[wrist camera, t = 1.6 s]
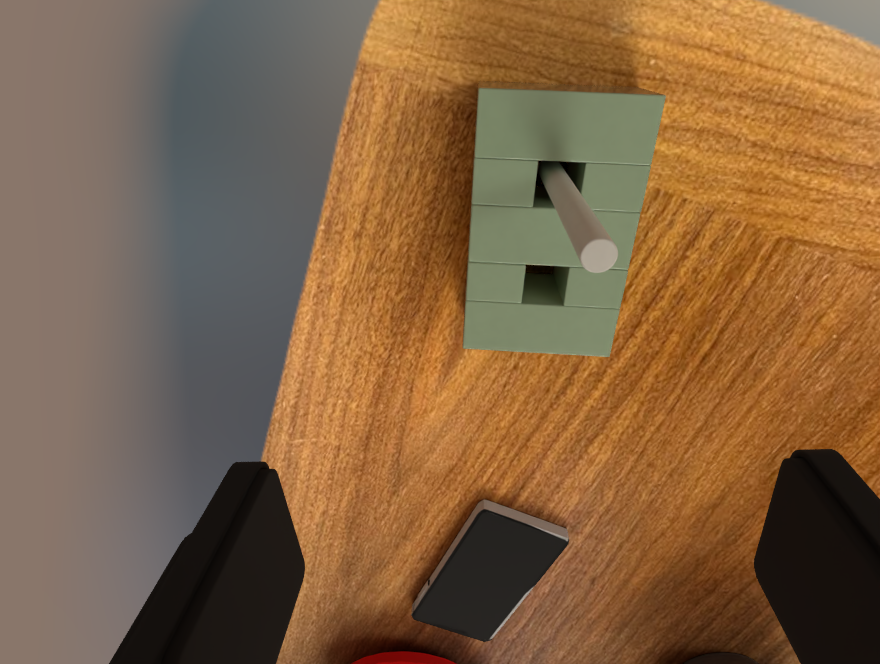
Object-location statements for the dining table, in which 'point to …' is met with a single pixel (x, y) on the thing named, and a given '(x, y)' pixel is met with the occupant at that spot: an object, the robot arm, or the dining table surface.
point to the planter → (721, 659)
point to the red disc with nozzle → (402, 658)
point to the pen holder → (552, 212)
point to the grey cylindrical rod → (578, 219)
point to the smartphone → (488, 571)
